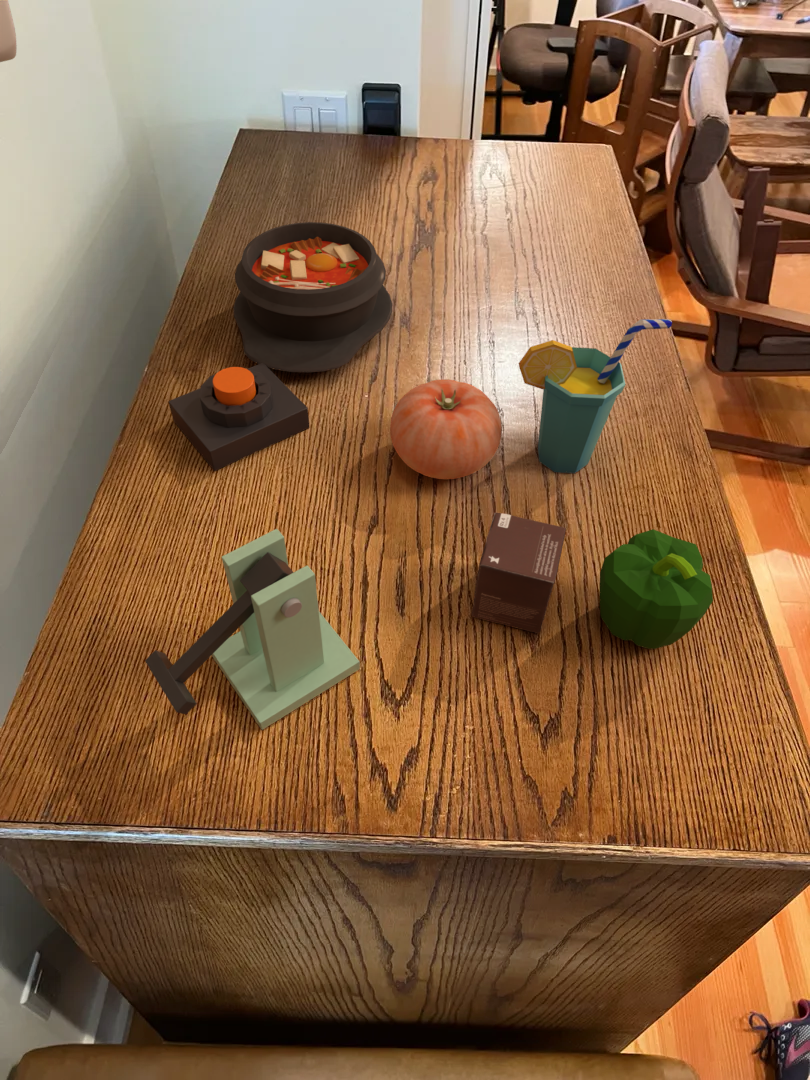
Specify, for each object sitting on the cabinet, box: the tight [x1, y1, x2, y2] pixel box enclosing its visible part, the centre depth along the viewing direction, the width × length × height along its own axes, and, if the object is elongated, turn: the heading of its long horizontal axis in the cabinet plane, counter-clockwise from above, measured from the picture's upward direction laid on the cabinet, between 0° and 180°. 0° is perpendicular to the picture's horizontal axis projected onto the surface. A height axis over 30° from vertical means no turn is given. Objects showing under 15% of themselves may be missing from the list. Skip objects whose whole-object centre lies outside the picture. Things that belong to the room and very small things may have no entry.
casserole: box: [232, 221, 393, 373], centre depth 88 cm, size 25×19×8 cm
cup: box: [518, 318, 673, 474], centre depth 72 cm, size 14×8×15 cm, turn 110°
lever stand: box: [211, 528, 361, 731], centre depth 57 cm, size 9×8×13 cm
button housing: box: [167, 363, 310, 472], centre depth 78 cm, size 11×9×4 cm
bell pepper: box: [599, 528, 714, 650], centre depth 61 cm, size 8×8×10 cm
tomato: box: [389, 379, 503, 480], centre depth 74 cm, size 11×11×8 cm
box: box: [471, 511, 567, 634], centre depth 63 cm, size 6×6×7 cm
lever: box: [144, 552, 295, 715], centre depth 53 cm, size 12×5×2 cm, turn 127°
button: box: [213, 366, 256, 406], centre depth 76 cm, size 4×4×2 cm
